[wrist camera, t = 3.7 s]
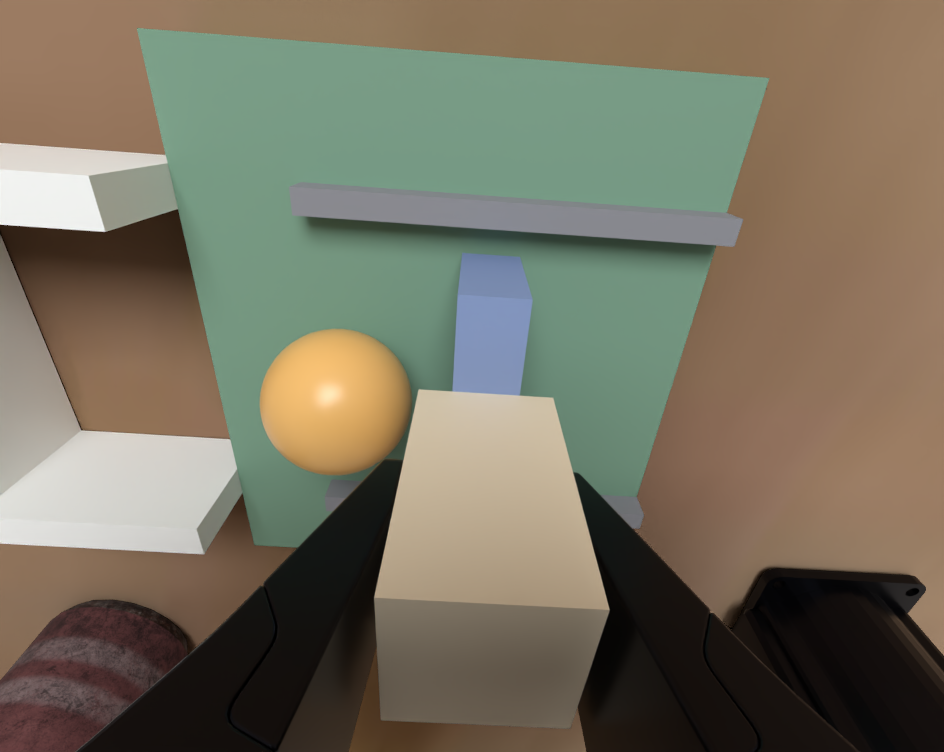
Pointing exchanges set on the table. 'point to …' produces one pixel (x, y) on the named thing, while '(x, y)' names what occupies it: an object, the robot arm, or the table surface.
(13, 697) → the can
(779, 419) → the table surface
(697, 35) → the table surface
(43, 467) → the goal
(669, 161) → the panel
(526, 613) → the beige and blue block
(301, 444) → the ball
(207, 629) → the table surface
